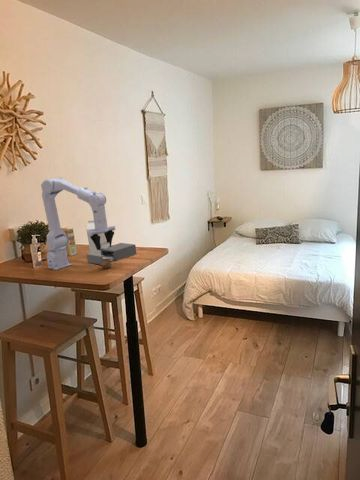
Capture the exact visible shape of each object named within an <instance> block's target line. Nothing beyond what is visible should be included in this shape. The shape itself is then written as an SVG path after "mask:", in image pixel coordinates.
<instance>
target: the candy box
mask: <svg viewBox="0 0 360 480" xmlns="http://www.w3.org/2000/svg"><path fill="white" fill-rule="evenodd" d="M61 230H63V231H64V232H65V234H66V236H67V238H68V244H67V247H66V251H67V256H75V255H78V251H77V245H76V239H75V232H74V228H73V227H69V226H67V227H66V226H65V227H61Z"/></svg>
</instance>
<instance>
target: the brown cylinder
mask: <svg viewBox="0 0 360 480" xmlns="http://www.w3.org/2000/svg"><path fill="white" fill-rule="evenodd" d="M111 262H112V261H110V259H108V258H107V259H102V265H101V266H102V270H105V269H106V270H109V269H111V268H112V263H111Z"/></svg>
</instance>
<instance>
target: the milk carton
mask: <svg viewBox="0 0 360 480" xmlns="http://www.w3.org/2000/svg"><path fill="white" fill-rule="evenodd" d="M87 223H88V224H87V226H86V227H87V228H86V234H87V232H90V231H93V230H95V224H94V220H88V221H87ZM97 235H98V236H100V243H102V242H106V237H105V234H104V233H101V234H97ZM87 242H88V247H89V254H93V255H99V256H101V251H100V250H97V249H96V246H95V244H94V242H93V240H92V239H91V238H90V236H88V234H87Z"/></svg>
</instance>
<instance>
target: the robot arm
mask: <svg viewBox="0 0 360 480" xmlns="http://www.w3.org/2000/svg"><path fill="white" fill-rule="evenodd" d="M40 187H41V192H42V194H41V198H42V202H43V207H44V211H45V215H46V220H47V225H48V233H46V234H47V235H45V237H46V247H47V249H48V250H49V251H47V253H46V261H47V268H48V269H51V270H55V271H57V270H59V269H60V270H61V269H64V268H66V267H70V266H72V265H73V263H69V259H68V255H67V251H66V247H67V244H68V238H67V236H66V234H65V232H64V231H63V230H61V228H62V226H61V223H60V219H59V214H58V209H57V204H56V203H57V202H56V199H55V198H56V196H57V195H59V194H60V193H61V192H63V191H66V192H69V193H72V194H74V195H75V196H76V197H77V199H79V200H81V201H83V202H85V203H87V204H89V206H90V207H91V211H92V217H93V221H94V224H95V230H93V231H90V232H87V231H86V234H88V235H87V237H88V236H90V238H91V239H92V240H93V242H94V244H95V246H96V249H97V250H101V247H100V236H98V235H97V234H101V233H104V234H105V238H106V242H109V243H110V246H109V247H111V246H112V242H113V237H114V235H115V231H116V225H115V226H114V225H111V226H108V222H107V214H106V206H105V205H106V203H107V197H106V196H105V194H103V193H102V192H99V193H97V192H96V191H95V190H90V189H88V187H87V186H82V187H78V186H77V185H76V184H74V183H71V182H69V181H68V180H66V179H65V178H63V177H57V178H56V177H55V178H48V179H47V178H46V179H44V180H43V181H42V182H41V185H40Z"/></svg>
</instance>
